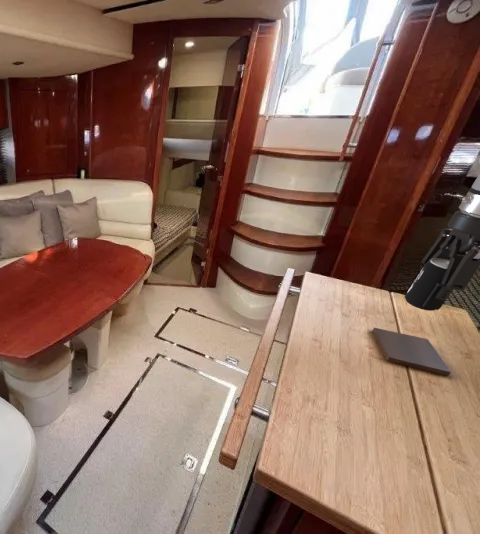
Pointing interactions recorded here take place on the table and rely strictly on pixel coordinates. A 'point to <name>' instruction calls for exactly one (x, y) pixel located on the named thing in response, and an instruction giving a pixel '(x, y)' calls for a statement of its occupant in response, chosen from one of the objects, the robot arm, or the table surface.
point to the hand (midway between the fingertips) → (423, 299)
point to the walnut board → (410, 351)
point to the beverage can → (426, 282)
